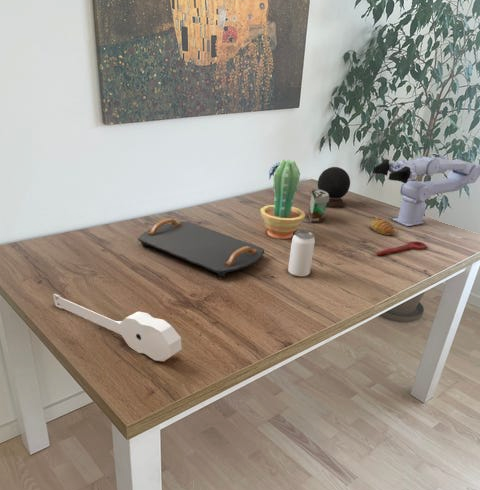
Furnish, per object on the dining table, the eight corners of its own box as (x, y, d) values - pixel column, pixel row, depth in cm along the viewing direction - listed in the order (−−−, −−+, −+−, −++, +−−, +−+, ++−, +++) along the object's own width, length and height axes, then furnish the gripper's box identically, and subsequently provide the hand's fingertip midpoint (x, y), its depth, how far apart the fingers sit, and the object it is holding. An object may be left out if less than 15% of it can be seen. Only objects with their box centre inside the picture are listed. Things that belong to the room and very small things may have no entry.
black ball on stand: (349, 202, 205) (356, 166, 198) (342, 210, 194) (348, 173, 187) (319, 196, 209) (325, 161, 202) (310, 204, 199) (316, 168, 191)
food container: (327, 225, 179) (332, 199, 174) (311, 224, 178) (315, 197, 173) (323, 214, 189) (327, 189, 184) (308, 212, 189) (311, 187, 184)
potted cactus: (291, 224, 176) (300, 155, 164) (309, 241, 164) (321, 167, 151) (251, 226, 171) (258, 155, 159) (267, 243, 159) (275, 167, 146)
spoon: (417, 242, 170) (418, 238, 169) (429, 248, 166) (430, 244, 165) (371, 253, 159) (372, 248, 158) (382, 259, 155) (383, 254, 154)
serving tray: (272, 260, 148) (274, 241, 145) (226, 285, 131) (227, 264, 128) (180, 226, 167) (180, 209, 164) (129, 244, 150) (128, 225, 147)
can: (295, 278, 138) (301, 240, 132) (283, 269, 143) (288, 231, 137) (314, 275, 141) (320, 237, 135) (301, 266, 146) (307, 229, 140)
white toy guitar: (70, 308, 120) (56, 314, 117) (65, 278, 116) (50, 284, 113) (184, 358, 100) (170, 367, 97) (182, 325, 96) (168, 333, 94)
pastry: (398, 235, 175) (400, 225, 173) (383, 237, 172) (386, 227, 170) (381, 226, 182) (383, 216, 180) (367, 227, 179) (369, 218, 177)
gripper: (396, 152, 178) (369, 156, 172) (427, 163, 167) (399, 168, 161) (392, 171, 181) (365, 175, 175) (422, 183, 171) (394, 188, 165)
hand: (381, 173), depth 169 cm, fingers open, 7 cm apart
